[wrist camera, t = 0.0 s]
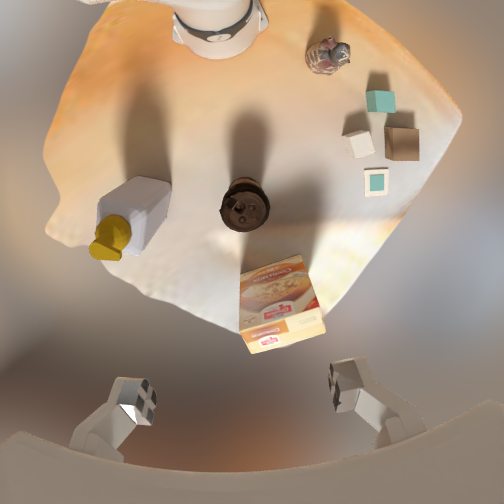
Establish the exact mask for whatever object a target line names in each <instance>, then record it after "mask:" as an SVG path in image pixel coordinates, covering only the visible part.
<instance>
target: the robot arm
mask: <svg viewBox="0 0 504 504" xmlns="http://www.w3.org/2000/svg"><path fill="white" fill-rule="evenodd" d="M77 1H80V2H83V3H86V4H97V3H103V2H109V1H116V0H77ZM140 1H148V2H153V3H158V4H162V5H166V6H169V7H171V8H172V9H173V10H174V11H175V13H174V14H173V19H174V25H173V34H172V38H173V40H174V42H176V43H179V44H182V45H185V46H187V47H188V48H189V49H191V50H192V51H193V52H194V53H196V54H197V55H199V56H201V57H204V58H208V59H226V58H231V57H234V56H236V55H238V54H240V53H242V52H243V51H245V50H246V49H247V48H248V47H249V46H250V45H251V44H252V43H253V41H254V39H255V38H256V36H257V35H258V34H259V33H260V32H262V31H263V30H265V29H266V28H267V27H268V25H269V24H268V20H267V18H266V15H265V13H264V11H263V9H262V7H261V5H260V2H259V0H140ZM261 18H262V20H261ZM329 369H330V373H329V375H328V382H329V389H330V393H331V394H332V395H334V397H333V404H334V407H335V412H336V413H341V412H345V411H350V410H355V411H356V412H357V413H358V414H359V415H360V416H361V417H362V418H364V419H365V420H366V421H367V422H368V423H369V424H370V425H372V426H373V427H374V428H375V429H376V430H377V431H378V432H379V434H378V435H377V437H376V439H375V440H374V442H373V444H372V445H373V448H374V450H373V451H370V452H367V453H363V454H360V455H355V456H352V457H348V458H343V459H339V460H335V461H330V462H325V463H320V464H315V465H309V466H303V467H296V468H288V469H280V470H271V471H257V472H235V473H211V472H188V471H176V470H166V469H157V468H150V467H143V466H137V465H131V464H126V463H123V459H124V457H123V455H122V454H120V453H119V452H118V451H117V450H116V449H117V448H118V447H119V445H120V444H121V443H122V442H123V441H124V440H125V438H126V437H127V436H128V435H129V434H130V432H131V431H132V430H133V429H134V428H135V426H136V424H138V425H152V422H153V418H154V413H153V411H152V410H153V409H154V408H155V407H156V403H157V396H156V392H155V390H154V389H153V388H151V387H150V386H149V381H148V380H147V379H140V378H125V377H117V378H116V379H115V382H114V385H113V387H112V390H111V393H110V396H109V399H108V401H107V403H104V404H103V405H102V406H101V407H99V409H97V410H96V411H95V412H94V413H92V414H91V415H90V416H89V417H88V418H87V419H86V420H85V421H83V422H82V423H81V424H80V425H79V426H77V427H76V428H75V430H74V433H73V436H72V439H71V442H70V445H69V448H65V447H62V446H60V445H57V444H54V443H51V442H49V441H46V440H43V439H41V438H38V437H36V436H34V435H31V434H29V433H26V432H24V431H19V432H17V433H15V434H14V435H12V436H11V437H10V438H8V439H7V440H5V441H4V442H3V443H2V444H1V446H0V504H504V405H503V404H501V403H498V402H496V401H493V400H486V401H484V402H482V403H480V404H479V405H477V406H475V407H474V408H472V409H470V410H468V411H467V412H465V413H463V414H461V415H459V416H457V417H455V418H453V419H451V420H449V421H447V422H445V423H443V424H441V425H439V426H437V427H435V428H432V429H430V430H428V431H427V429H426V427H425V424H424V422H423V419H422V417H421V415H420V413H419V410H418V408H417V407H415V406H414V405H412V404H411V403H409V402H408V401H406V400H404V399H403V398H401V397H400V396H398V395H397V394H395V393H394V392H392V391H391V390H389V389H387V388H386V387H384V386H383V385H381V384H380V383H378V384H376V382H375V380H374V377H373V375H372V372H371V370H370V368H369V365H368V363H367V360H366V358H365V357H364V356H360V357H356V358H350V359H346V360H341V361H337V362H333V363H330V366H329Z"/></svg>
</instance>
